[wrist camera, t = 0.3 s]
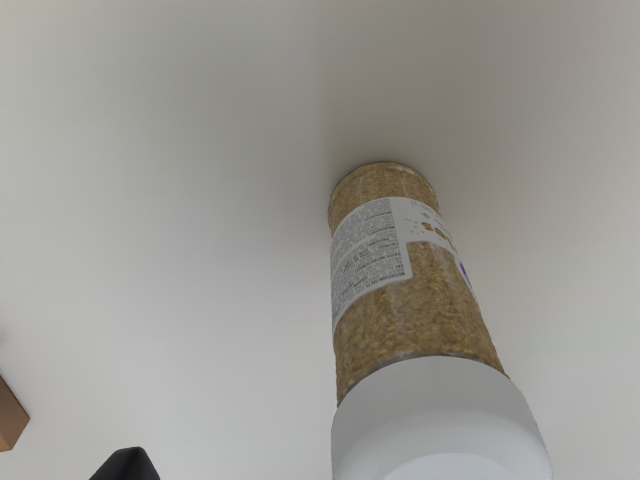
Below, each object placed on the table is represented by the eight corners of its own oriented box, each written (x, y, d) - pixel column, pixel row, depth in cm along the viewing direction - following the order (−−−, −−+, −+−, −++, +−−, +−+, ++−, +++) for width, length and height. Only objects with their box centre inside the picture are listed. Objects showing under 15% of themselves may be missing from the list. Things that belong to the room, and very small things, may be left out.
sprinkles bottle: (454, 222, 23) (593, 521, 11) (362, 272, 24) (402, 590, 13) (401, 135, 21) (501, 388, 10) (303, 194, 23) (287, 483, 11)
